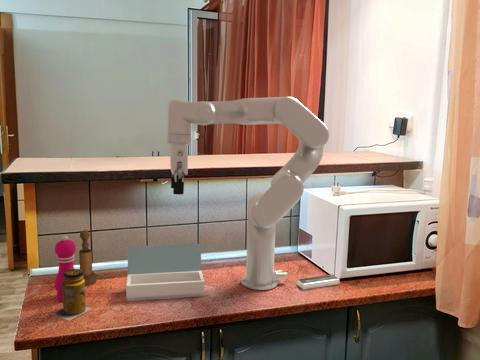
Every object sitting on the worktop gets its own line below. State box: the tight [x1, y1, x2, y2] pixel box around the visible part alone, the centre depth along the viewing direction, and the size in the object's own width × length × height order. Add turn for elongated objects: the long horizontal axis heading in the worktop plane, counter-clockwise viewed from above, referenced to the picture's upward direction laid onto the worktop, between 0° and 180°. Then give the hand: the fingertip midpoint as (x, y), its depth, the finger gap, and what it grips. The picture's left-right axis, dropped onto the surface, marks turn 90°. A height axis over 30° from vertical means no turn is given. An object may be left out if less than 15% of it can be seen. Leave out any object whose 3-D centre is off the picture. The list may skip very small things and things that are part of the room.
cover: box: [127, 243, 202, 275], centre depth 141 cm, size 24×9×1 cm
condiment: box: [51, 268, 93, 322], centre depth 121 cm, size 7×8×12 cm
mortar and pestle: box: [78, 229, 97, 287], centre depth 141 cm, size 7×6×18 cm
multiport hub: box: [296, 274, 340, 290], centre depth 146 cm, size 4×14×2 cm, turn 112°
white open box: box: [125, 270, 206, 302], centre depth 136 cm, size 24×9×5 cm, turn 102°
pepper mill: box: [53, 234, 77, 303], centre depth 129 cm, size 7×7×20 cm
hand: (176, 191), depth 139 cm, fingers open, 9 cm apart
